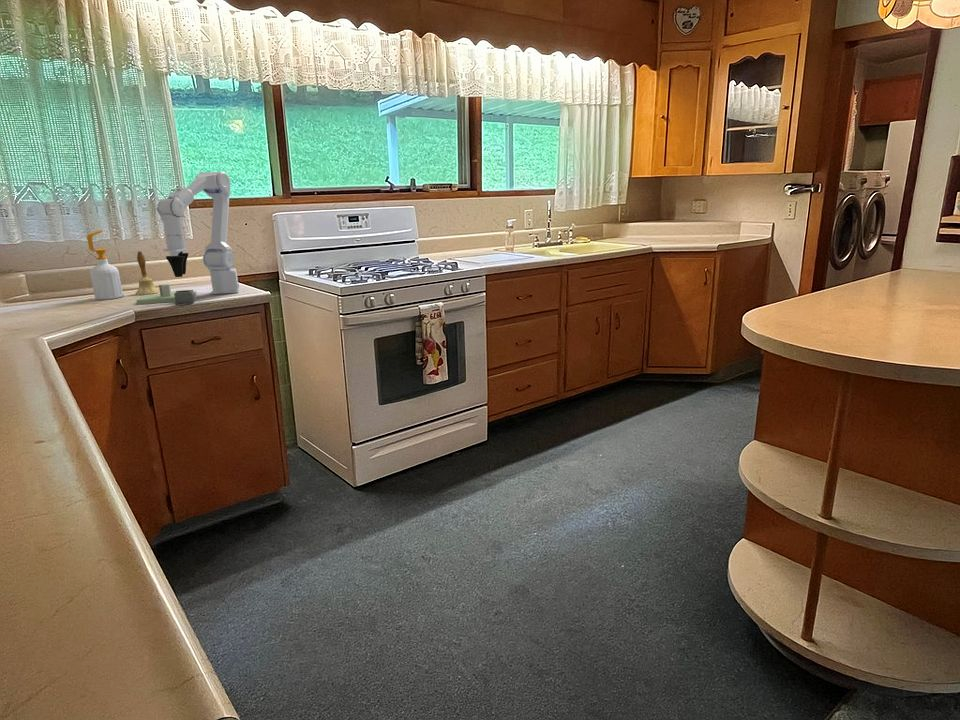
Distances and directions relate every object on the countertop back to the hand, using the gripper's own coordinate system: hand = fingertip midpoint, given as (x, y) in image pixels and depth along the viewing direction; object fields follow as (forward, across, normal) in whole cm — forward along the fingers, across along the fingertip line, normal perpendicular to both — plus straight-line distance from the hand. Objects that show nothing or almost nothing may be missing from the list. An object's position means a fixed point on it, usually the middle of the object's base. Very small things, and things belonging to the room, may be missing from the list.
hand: (180, 275), depth 211 cm
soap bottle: (+10, -24, -29) cm, 39 cm away
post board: (+10, -10, -7) cm, 15 cm away
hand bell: (+10, -30, -17) cm, 35 cm away
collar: (+10, 0, 0) cm, 10 cm away
